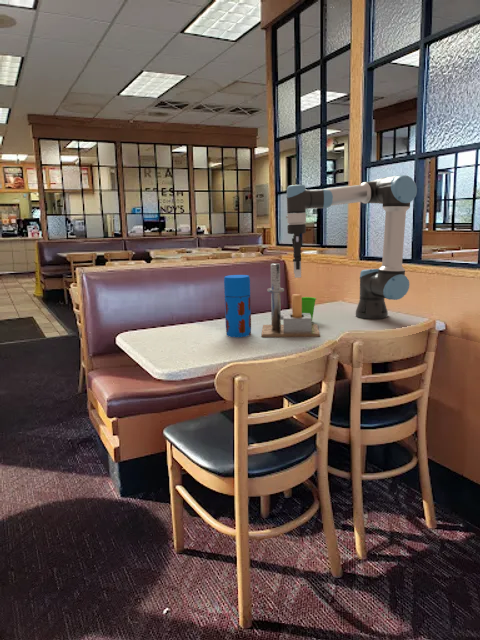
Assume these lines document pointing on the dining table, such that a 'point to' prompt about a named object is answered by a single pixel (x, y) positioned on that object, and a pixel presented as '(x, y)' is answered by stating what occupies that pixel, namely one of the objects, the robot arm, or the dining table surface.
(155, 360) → the dining table surface
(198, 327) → the dining table surface
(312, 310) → the cup
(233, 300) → the thermos
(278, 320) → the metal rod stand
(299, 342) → the dining table surface
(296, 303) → the pin
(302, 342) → the dining table surface
